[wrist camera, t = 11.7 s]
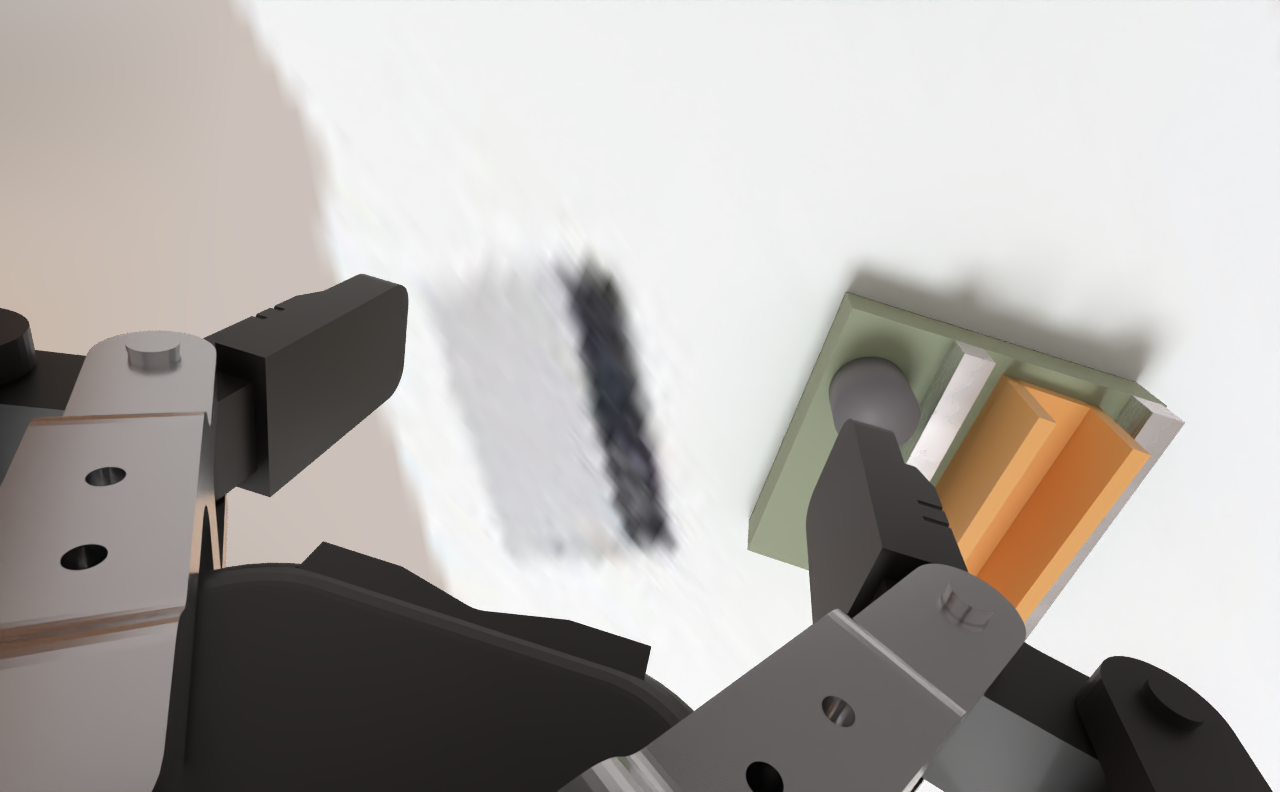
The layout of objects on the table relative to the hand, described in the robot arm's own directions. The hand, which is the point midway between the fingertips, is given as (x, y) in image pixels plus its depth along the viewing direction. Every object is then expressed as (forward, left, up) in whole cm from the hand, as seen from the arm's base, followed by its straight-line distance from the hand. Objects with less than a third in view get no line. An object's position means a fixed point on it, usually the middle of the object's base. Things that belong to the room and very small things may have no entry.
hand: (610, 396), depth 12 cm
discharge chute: (+11, +19, -23) cm, 32 cm away
